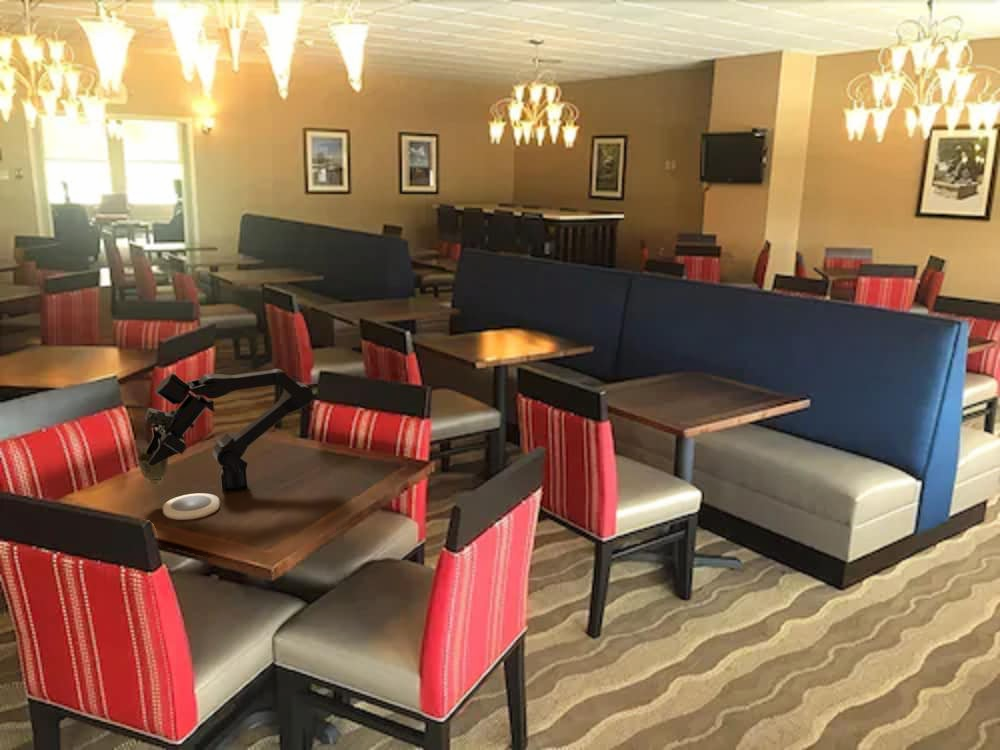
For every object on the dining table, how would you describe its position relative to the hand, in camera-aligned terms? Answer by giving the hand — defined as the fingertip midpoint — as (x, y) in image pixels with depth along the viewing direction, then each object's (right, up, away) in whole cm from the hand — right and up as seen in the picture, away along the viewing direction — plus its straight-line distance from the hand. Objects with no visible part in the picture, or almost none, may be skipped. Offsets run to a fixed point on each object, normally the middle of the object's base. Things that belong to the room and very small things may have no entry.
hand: (147, 460), depth 215 cm
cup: (+1, -6, +3) cm, 7 cm away
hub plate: (+12, -13, 0) cm, 17 cm away
